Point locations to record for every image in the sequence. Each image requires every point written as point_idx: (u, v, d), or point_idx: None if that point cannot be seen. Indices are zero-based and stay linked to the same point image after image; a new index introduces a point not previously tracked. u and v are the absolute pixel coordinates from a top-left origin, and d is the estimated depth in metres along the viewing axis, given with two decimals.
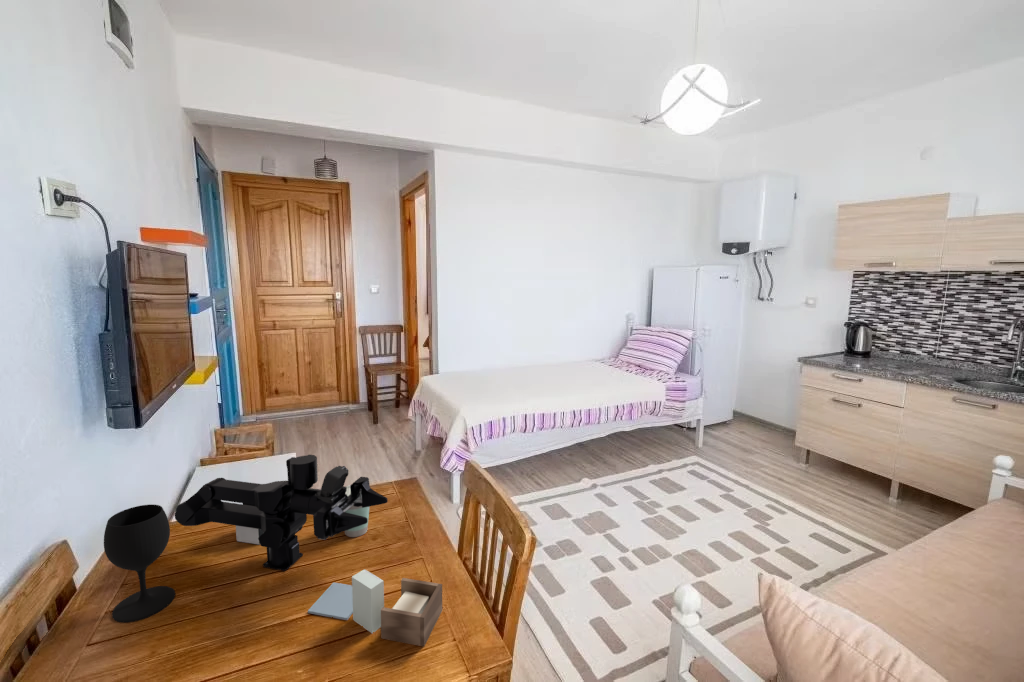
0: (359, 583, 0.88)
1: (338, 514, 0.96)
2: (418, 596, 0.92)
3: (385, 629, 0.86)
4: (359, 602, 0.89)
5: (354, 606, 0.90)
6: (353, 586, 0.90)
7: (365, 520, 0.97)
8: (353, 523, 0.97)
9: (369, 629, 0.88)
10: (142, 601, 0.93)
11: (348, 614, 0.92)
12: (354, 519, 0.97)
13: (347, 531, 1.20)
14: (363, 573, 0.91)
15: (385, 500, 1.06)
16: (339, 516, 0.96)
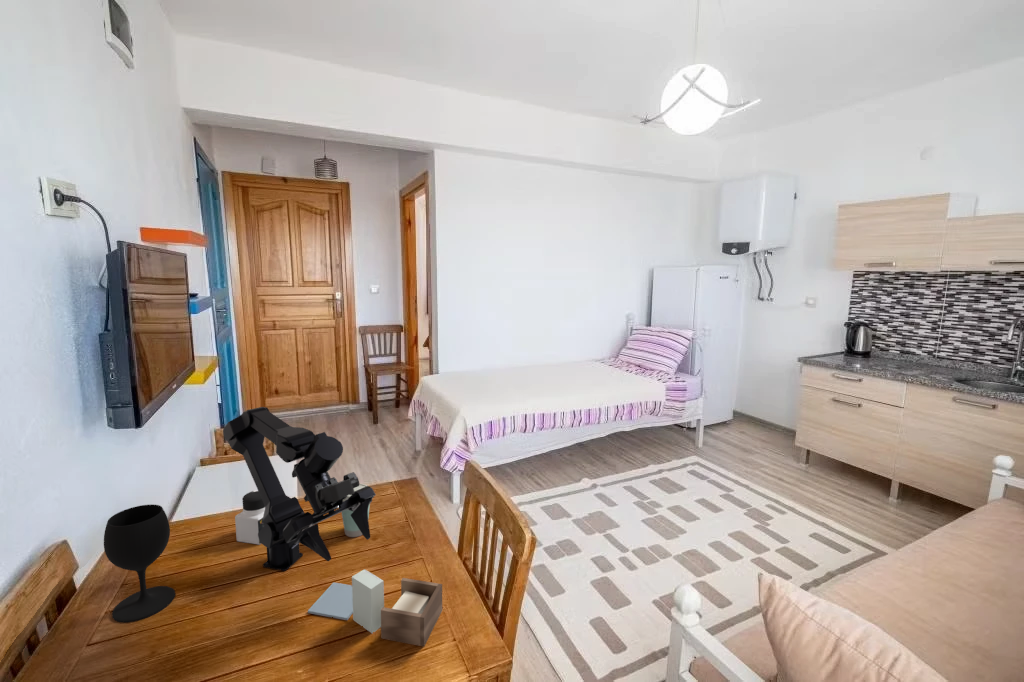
0: (359, 583, 0.88)
1: (311, 535, 0.87)
2: (418, 596, 0.92)
3: (385, 629, 0.86)
4: (359, 602, 0.89)
5: (354, 606, 0.90)
6: (353, 586, 0.90)
7: (328, 559, 0.88)
8: (318, 551, 0.88)
9: (369, 629, 0.88)
10: (142, 601, 0.93)
11: (348, 614, 0.92)
12: (320, 550, 0.88)
13: (347, 531, 1.20)
14: (363, 573, 0.91)
15: (367, 537, 0.95)
16: (311, 537, 0.87)
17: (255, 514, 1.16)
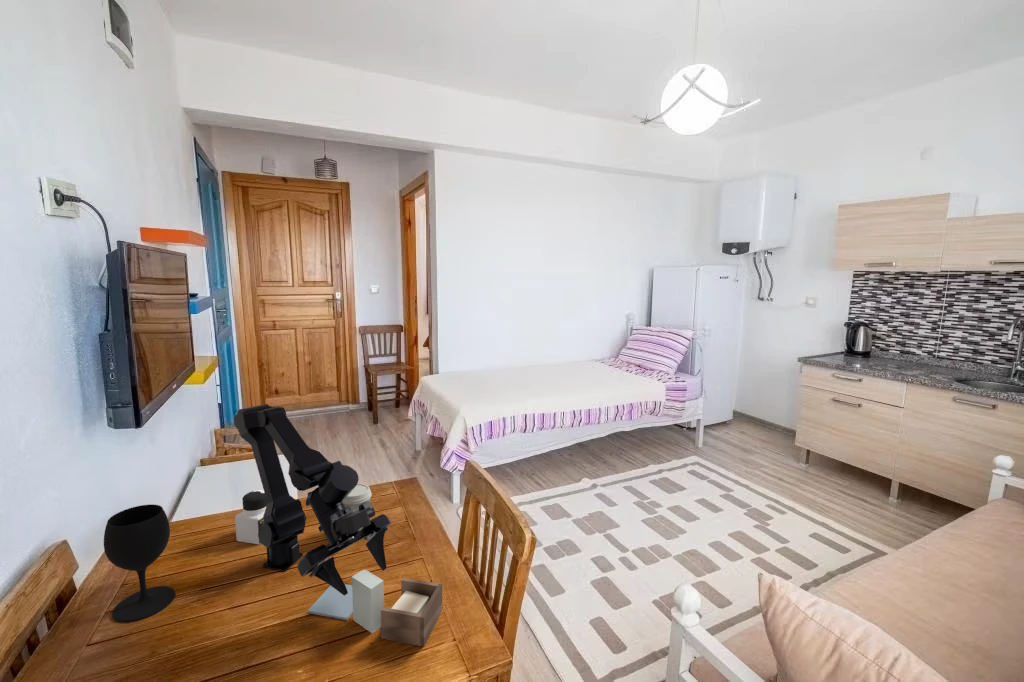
0: (359, 583, 0.88)
1: (327, 569, 0.85)
2: (418, 595, 0.92)
3: (385, 629, 0.86)
4: (359, 602, 0.89)
5: (354, 606, 0.90)
6: (353, 586, 0.90)
7: (344, 593, 0.85)
8: (334, 585, 0.86)
9: (369, 629, 0.88)
10: (142, 601, 0.93)
11: (348, 614, 0.92)
12: (337, 584, 0.85)
13: None
14: (363, 573, 0.91)
15: (383, 568, 0.93)
16: (327, 570, 0.85)
17: (255, 514, 1.16)
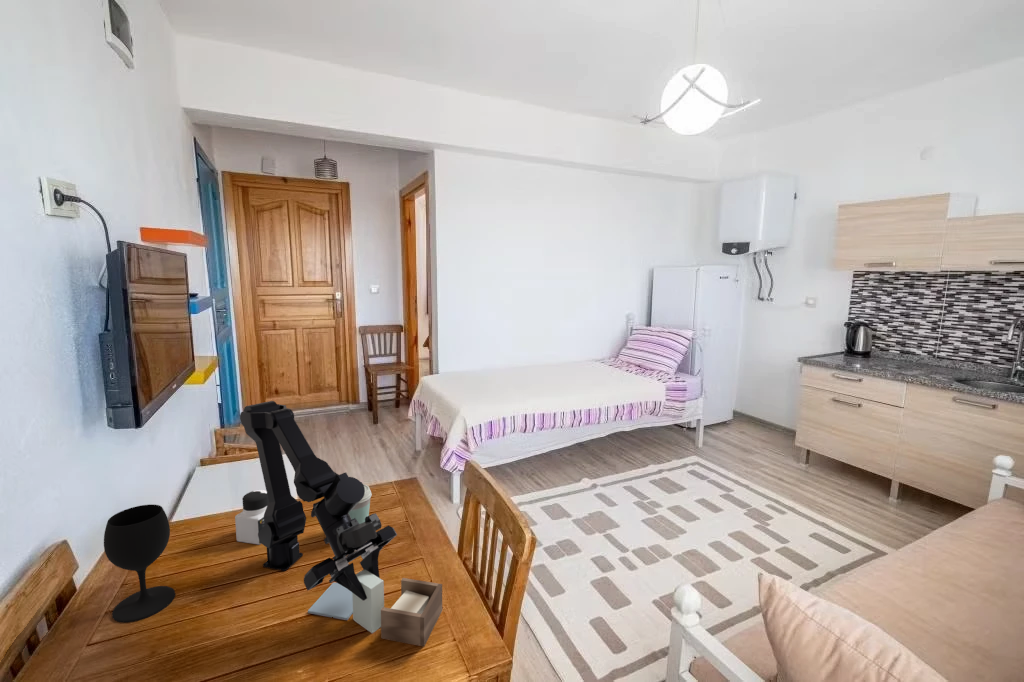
0: None
1: (347, 575, 0.86)
2: (418, 595, 0.92)
3: (385, 629, 0.86)
4: (359, 602, 0.89)
5: (354, 606, 0.90)
6: None
7: (364, 598, 0.87)
8: (353, 590, 0.87)
9: (369, 629, 0.88)
10: (142, 601, 0.93)
11: (348, 614, 0.92)
12: (356, 589, 0.87)
13: None
14: (363, 573, 0.91)
15: None
16: (347, 576, 0.87)
17: (255, 514, 1.16)
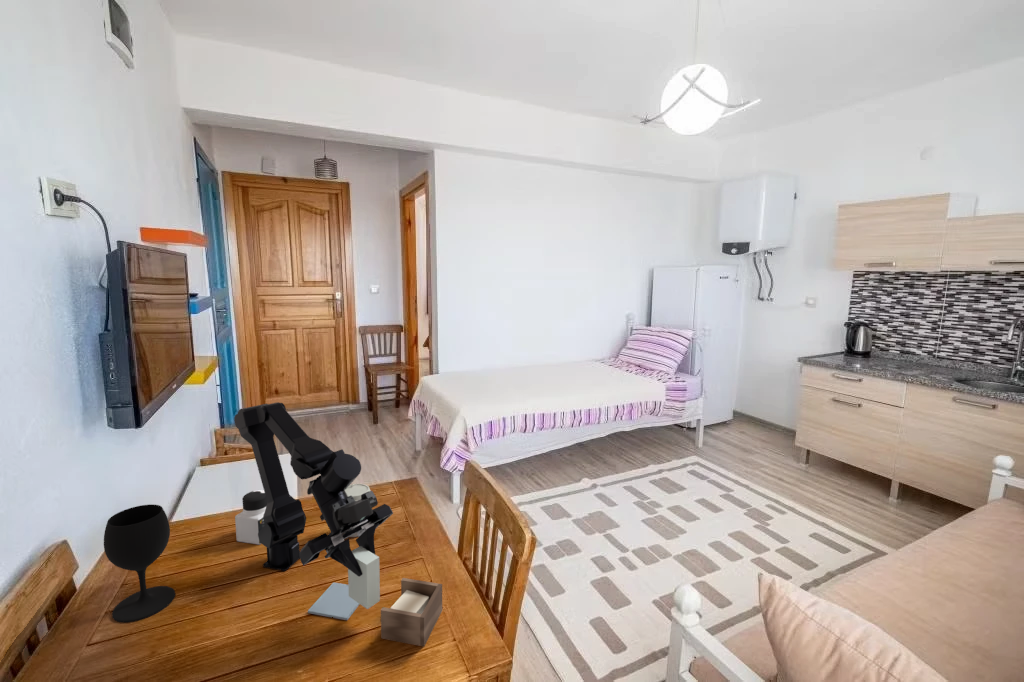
0: None
1: (342, 550, 0.86)
2: (419, 595, 0.92)
3: (385, 629, 0.86)
4: (355, 578, 0.89)
5: (350, 582, 0.90)
6: None
7: (359, 574, 0.87)
8: (349, 566, 0.88)
9: (364, 605, 0.88)
10: (142, 601, 0.93)
11: (348, 614, 0.92)
12: (352, 565, 0.87)
13: None
14: (359, 550, 0.91)
15: None
16: (342, 552, 0.87)
17: (255, 514, 1.16)
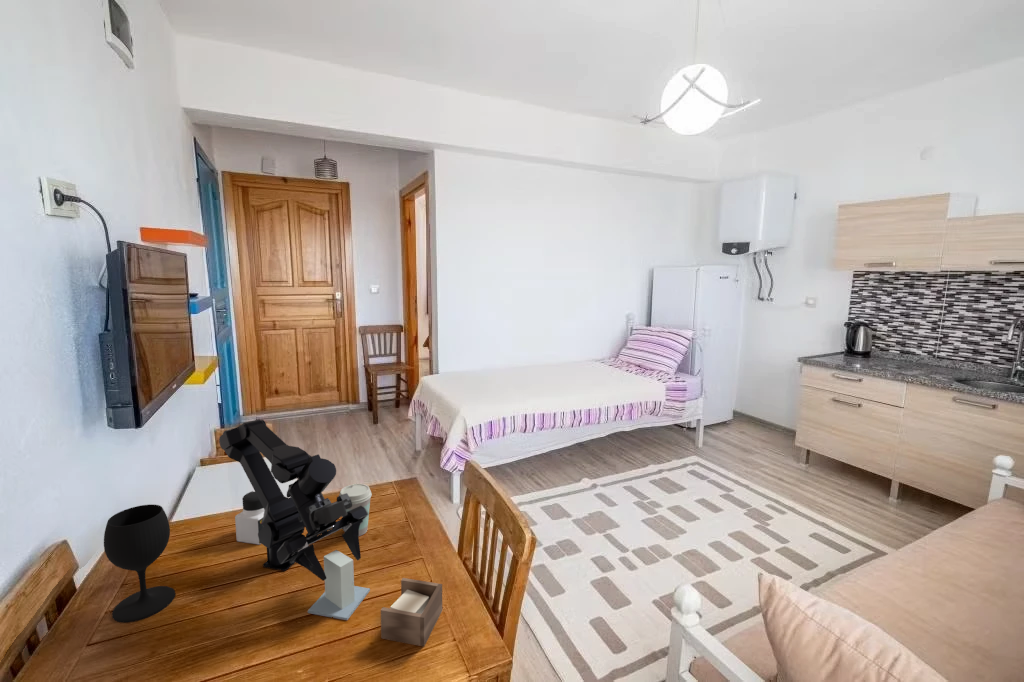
0: (330, 562, 0.94)
1: (307, 555, 0.90)
2: (419, 595, 0.92)
3: (385, 629, 0.86)
4: (330, 580, 0.94)
5: (326, 584, 0.95)
6: (324, 565, 0.95)
7: (323, 578, 0.90)
8: (313, 570, 0.91)
9: (339, 605, 0.93)
10: (142, 601, 0.93)
11: (348, 614, 0.92)
12: (316, 569, 0.90)
13: None
14: (334, 553, 0.96)
15: (357, 558, 0.97)
16: (306, 557, 0.90)
17: (255, 514, 1.16)
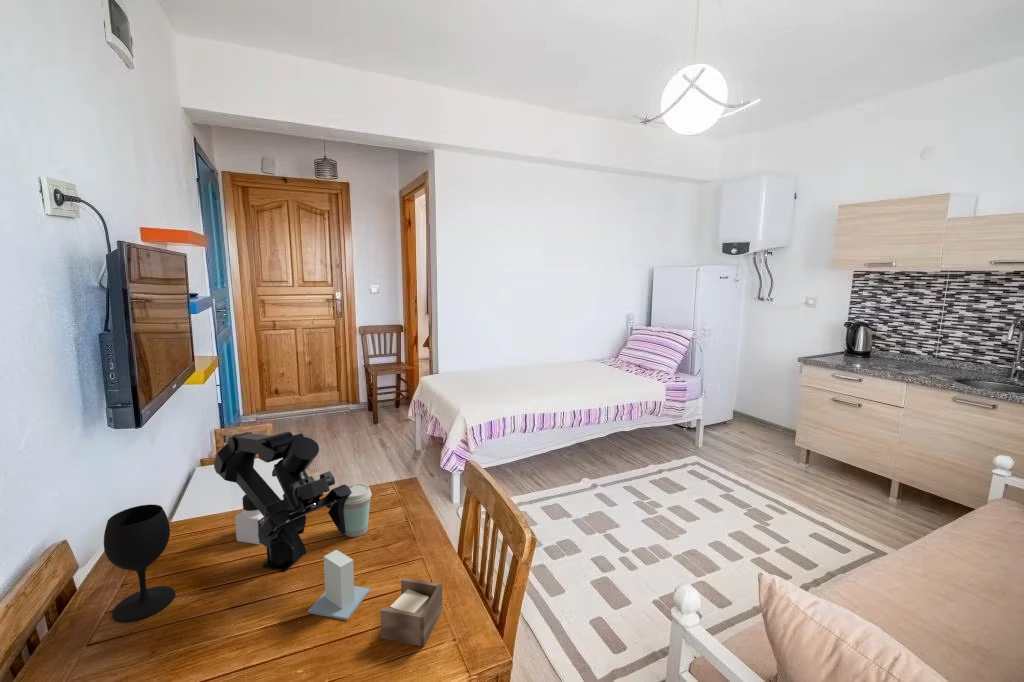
0: (330, 562, 0.94)
1: (287, 530, 0.92)
2: (419, 595, 0.92)
3: (385, 629, 0.86)
4: (330, 580, 0.94)
5: (326, 584, 0.95)
6: (324, 565, 0.95)
7: (304, 553, 0.93)
8: (294, 545, 0.93)
9: (339, 605, 0.93)
10: (142, 601, 0.93)
11: (348, 614, 0.92)
12: (296, 544, 0.93)
13: (347, 531, 1.20)
14: (334, 553, 0.96)
15: (343, 533, 1.00)
16: None
17: (255, 514, 1.16)
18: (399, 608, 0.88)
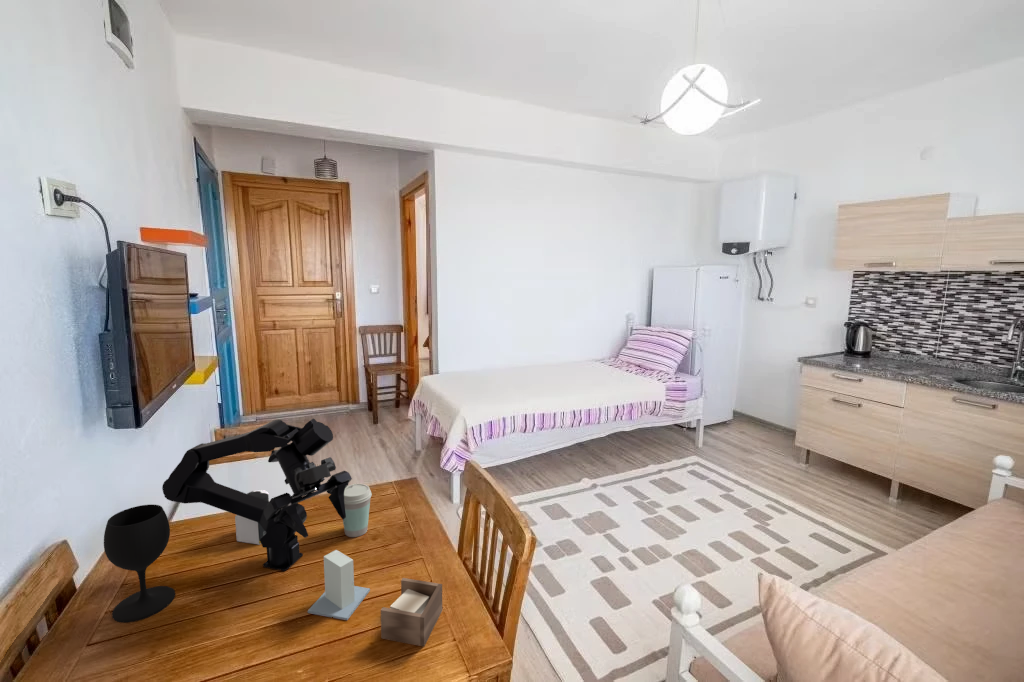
0: (330, 562, 0.94)
1: (289, 513, 0.95)
2: (419, 595, 0.92)
3: (385, 629, 0.86)
4: (330, 580, 0.94)
5: (326, 584, 0.95)
6: (324, 565, 0.95)
7: (305, 535, 0.96)
8: (296, 528, 0.96)
9: (339, 605, 0.93)
10: (142, 601, 0.93)
11: (348, 614, 0.92)
12: (298, 527, 0.96)
13: (347, 531, 1.20)
14: (334, 553, 0.96)
15: (343, 517, 1.03)
16: (289, 515, 0.95)
17: None
18: (399, 608, 0.88)
